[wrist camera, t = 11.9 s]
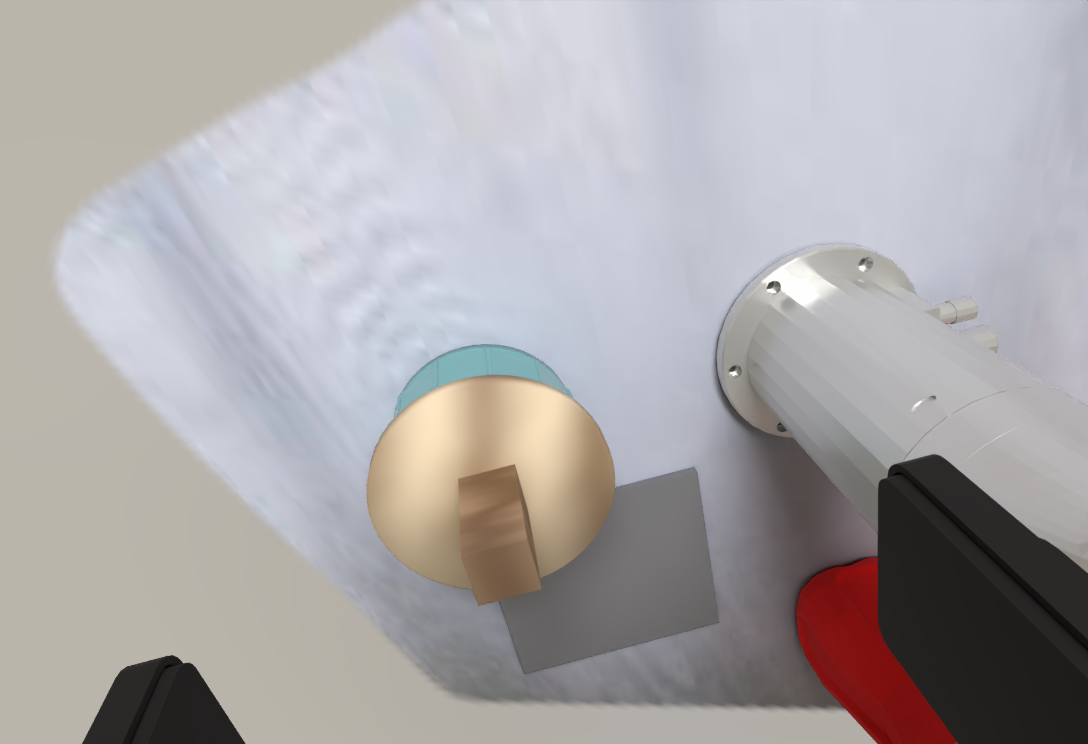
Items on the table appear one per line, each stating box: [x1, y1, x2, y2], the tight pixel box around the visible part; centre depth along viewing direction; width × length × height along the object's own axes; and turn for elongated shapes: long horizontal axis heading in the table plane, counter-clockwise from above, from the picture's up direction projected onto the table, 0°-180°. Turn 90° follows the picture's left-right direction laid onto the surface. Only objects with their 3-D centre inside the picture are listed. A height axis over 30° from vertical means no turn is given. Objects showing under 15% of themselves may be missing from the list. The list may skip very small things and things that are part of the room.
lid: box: [367, 375, 615, 606], centre depth 34 cm, size 13×13×7 cm
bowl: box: [394, 344, 573, 418], centre depth 40 cm, size 11×11×6 cm
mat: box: [499, 467, 719, 674], centre depth 49 cm, size 15×14×1 cm
